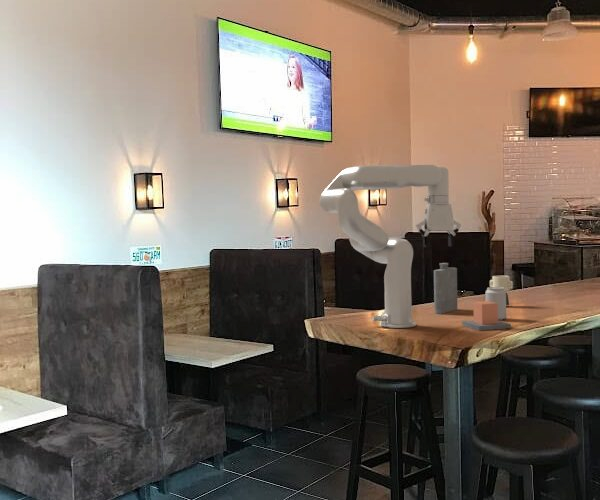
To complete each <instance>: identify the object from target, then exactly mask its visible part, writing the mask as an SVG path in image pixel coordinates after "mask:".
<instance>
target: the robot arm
mask: <svg viewBox="0 0 600 500" xmlns="http://www.w3.org/2000/svg"><path fill="white" fill-rule="evenodd" d="M409 187H413V188H423V187H425V188H426V187H427V197H425V198H424V202H426V203H427V204H426V205H425V210H424V211H425V212H424V220H421V222H418V223H416V225H415V227H416V229H417V231H418V233H419V234H420V235H421V236H422V245H423V247H424V248H429V246H430V236H428V235H429V234H430V233H431V232H446V233H448V236H447V237H448V238H447V244H448V245H447V247H450V248H451V247H452V248H453V247H454V245H455V236H456V234H458V232H459V230H460V228H461V226H462V224H461V223H459V222H458V221H456V220H454V215H453V208H452V204H449V203H450V201H449V200H450V199H449V198H450V196H449V192H450V191H449V187H450V186H449V170H448V168H447V167H445V166H444V167H442V166H437V165H434V164H408V165H407V164H405V165H404V164H383V165H381V164H380V165H377V164H372V165H371V164H368V165H367V164H366V165H365V164H362V165H356V166H350V167H346V168H345V169H343V170H342V171H341V172H340V173H338V175H337V176H336V177H335V178H334V179H333V180H332V182H331V183H330V184H329V185H328V186H327V187H326V188H325V189H324V191H322V192H321V194H320V197H319V206H320V208H321V209H322V211H324V212H325V213H327V214H337V218H338V222H339V227H340V229H341V230H342V232H343V233H344V234H345V235H347V236H348V237H349V238H348V241H349V242H350V245H351V247H353V249H354V250H355V251H356V252H359V253H361V254H362V255H364V256H365V257H366V258H368V259H370V260H372V261H374V262H376V263H379V264H385V265H386V268H385V271H384V276H383V279H384V280H383V283H384V286H383V287H384V312H381V313H382V314H380V315H373V316H372V317H371V319H372V320H371V321H372V322H380V326H382V327H384V328H389V329H407V328H413V327H416V326H417V321H415V320H412V318H413V315H412V263H413V258H414V248H413V245H412V243H410V242H409V241H408V239H404V238H402V237H401V238H400V237H389V234H388V233H387V231H386V230H385V229H384V228H383V227H382V226H379V225H378V224H376V223H374V222H373V221H371V220H369V219H368V218H367V217H365V216H364V215H363V214H361V212H360V208H359V200H358V197H357V195H356V193H355V192H354V191H364V190H365V191H367V190H370V191H371V190H397V189H402V188H409ZM422 226H424V228H423V227H422ZM454 226H455V228H454ZM422 228H423V229H422Z"/></svg>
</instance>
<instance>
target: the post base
mask: <svg viewBox="0 0 600 500" xmlns="http://www.w3.org/2000/svg"><path fill="white" fill-rule="evenodd" d="M461 325H462V326H463V327H466V328H469V329H472V330H475V331H479V332H480V331H481V332H482V331H495V330H494V329H497V330H506V328H511V329H512V324H511V323H508V322H504V321H502V320H498V323H496V324H479V323H476V322H474V319H473V320H462V321H461Z"/></svg>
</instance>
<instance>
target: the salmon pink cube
mask: <svg viewBox="0 0 600 500" xmlns="http://www.w3.org/2000/svg"><path fill="white" fill-rule="evenodd" d="M472 309H473V310H472V311H473V320H474V322H476V323H479V324H496V323H498V321H499V320H498V303H494V302H490V301H473V308H472Z"/></svg>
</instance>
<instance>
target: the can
mask: <svg viewBox="0 0 600 500" xmlns="http://www.w3.org/2000/svg"><path fill="white" fill-rule="evenodd" d="M506 293H507V291H505V290H504V288H503V287H490V286H489V287H487V288H486V290H485V301H490V302H494V303H498V321H504V320H505V319H507V305H506ZM485 301H484V302H485ZM503 319H504V320H503Z"/></svg>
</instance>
